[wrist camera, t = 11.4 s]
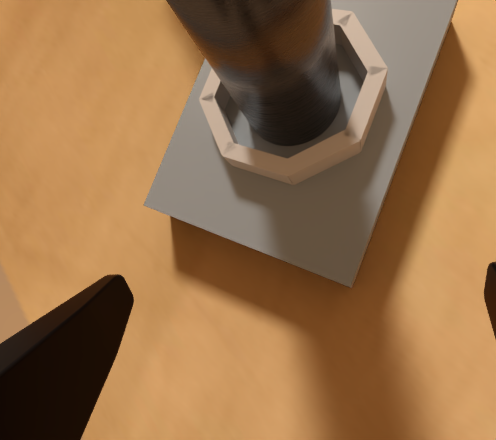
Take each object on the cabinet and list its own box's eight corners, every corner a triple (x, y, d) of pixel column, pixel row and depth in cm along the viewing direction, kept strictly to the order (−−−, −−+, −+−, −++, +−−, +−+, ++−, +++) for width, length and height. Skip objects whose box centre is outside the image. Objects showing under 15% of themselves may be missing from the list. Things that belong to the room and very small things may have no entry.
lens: (348, 133, 18) (318, -199, 6) (252, 155, 19) (62, -79, 7) (332, 46, 19) (278, -385, 7) (242, 72, 20) (64, -252, 8)
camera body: (352, 288, 19) (348, 286, 15) (169, 215, 24) (127, 199, 19) (451, 20, 21) (474, -50, 16) (260, -5, 25) (239, -66, 20)
